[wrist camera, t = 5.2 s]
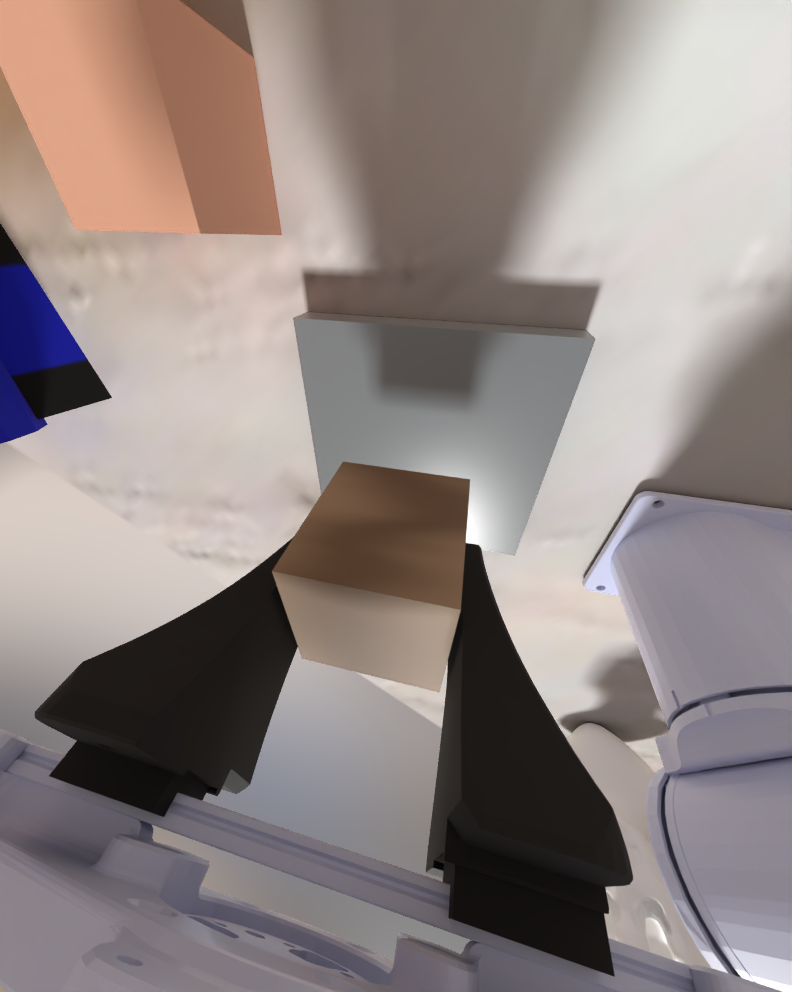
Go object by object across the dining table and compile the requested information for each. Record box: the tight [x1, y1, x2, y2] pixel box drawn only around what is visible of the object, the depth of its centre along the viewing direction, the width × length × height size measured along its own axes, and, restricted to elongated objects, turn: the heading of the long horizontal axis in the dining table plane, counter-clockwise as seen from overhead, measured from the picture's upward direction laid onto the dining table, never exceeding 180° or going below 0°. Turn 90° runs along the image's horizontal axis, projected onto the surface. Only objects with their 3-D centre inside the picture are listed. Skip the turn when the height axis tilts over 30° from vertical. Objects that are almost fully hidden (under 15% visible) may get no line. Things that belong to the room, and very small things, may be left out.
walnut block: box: [272, 461, 470, 692], centre depth 11 cm, size 4×4×5 cm
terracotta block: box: [0, 0, 282, 235], centre depth 10 cm, size 4×4×5 cm
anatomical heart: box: [567, 723, 711, 968], centre depth 28 cm, size 10×11×15 cm
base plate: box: [293, 312, 595, 556], centre depth 17 cm, size 12×12×2 cm
